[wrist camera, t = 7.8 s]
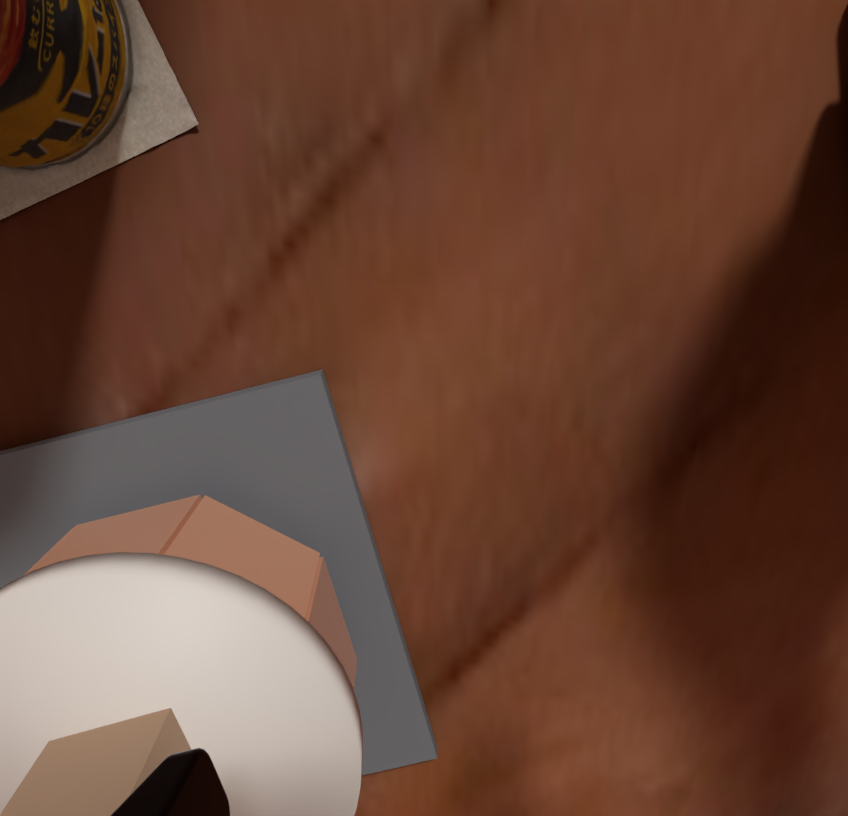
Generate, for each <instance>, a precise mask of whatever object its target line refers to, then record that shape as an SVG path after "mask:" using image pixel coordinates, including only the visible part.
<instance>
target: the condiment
mask: <svg viewBox="0 0 848 816" xmlns="http://www.w3.org/2000/svg"><path fill="white" fill-rule="evenodd" d="M196 125H198V122H197V120H196V118H195V116H194V114H193V111H192V109H191V107H190V105H189V104H188V102H187V99H186V97H185V95H184V93H183V91H182V89H181V87H180V85H179V83H178V81H177V79H176V76H175V74H174V73H173V71H172V69H171V67H170V65H169V63H168V61H167V59H166V57H165V55H164V52H163V50H162V48H161V46H160V44H159V42H158V40H157V38H156V36H155V34H154V32H153V30H152V28H151V26H150V24H149V22H148V20H147V18H146V16H145V14H144V12H143V10H142V8H141V5H140V3H139V1H138V0H0V220H1V219H3V218H6V217H8V216H10V215H12V214H14V213H16V212H18V211H20V210H22V209H24V208H27V207H29V206H31V205H33V204H35V203H37V202H39V201H41V200H44V199H46V198H48V197H50V196H52V195H54V194H57V193H59V192H61V191H63V190H65V189H68V188H70V187H72V186H74V185H76V184H78V183H80V182H82V181H84V180H86V179H88V178H90V177H92V176H94V175H96V174H98V173H100V172H103V171H105V170H107V169H109V168H111V167H113V166H115V165H117V164H119V163H121V162H124V161H126V160H128V159H130V158H132V157H134V156H136V155H138V154H140V153H142V152H144V151H146V150H148V149H150V148H152V147H154V146H156V145H159V144H161V143H163V142H165V141H167V140H169V139H171V138H173V137H175V136H177V135H179V134H181V133H183V132H185V131H187V130H189V129H191V128H192V127H194V126H196Z"/></svg>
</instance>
